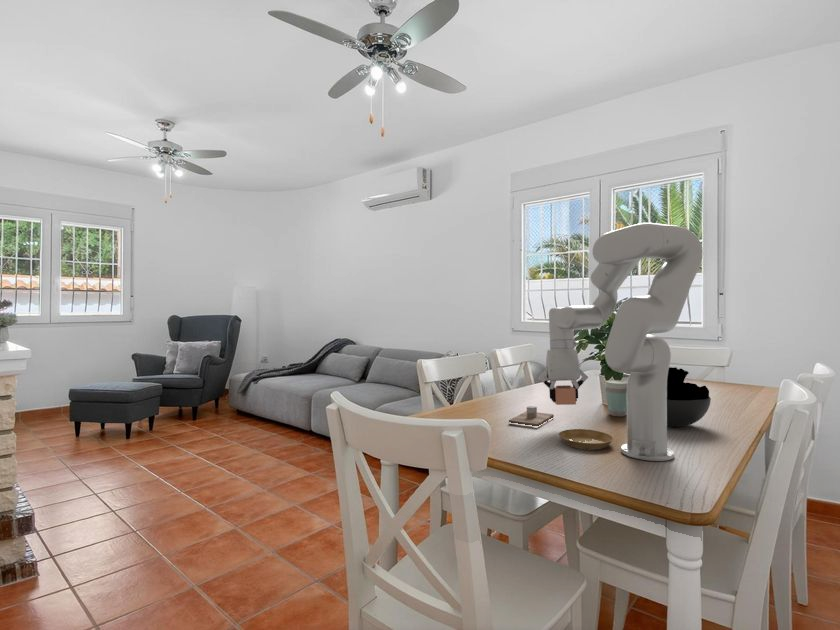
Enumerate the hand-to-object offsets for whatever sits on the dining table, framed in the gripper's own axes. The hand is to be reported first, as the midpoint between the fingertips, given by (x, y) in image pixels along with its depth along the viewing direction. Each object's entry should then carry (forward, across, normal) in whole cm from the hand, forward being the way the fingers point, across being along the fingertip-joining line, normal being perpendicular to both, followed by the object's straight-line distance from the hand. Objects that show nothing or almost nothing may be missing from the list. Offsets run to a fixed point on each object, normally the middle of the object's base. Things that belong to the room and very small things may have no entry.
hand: (563, 400), depth 147 cm
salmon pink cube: (+1, 0, 0) cm, 1 cm away
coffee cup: (+9, -23, -21) cm, 32 cm away
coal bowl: (+10, -36, -5) cm, 38 cm away
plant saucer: (+10, -2, +17) cm, 20 cm away
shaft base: (+9, +9, -9) cm, 16 cm away
